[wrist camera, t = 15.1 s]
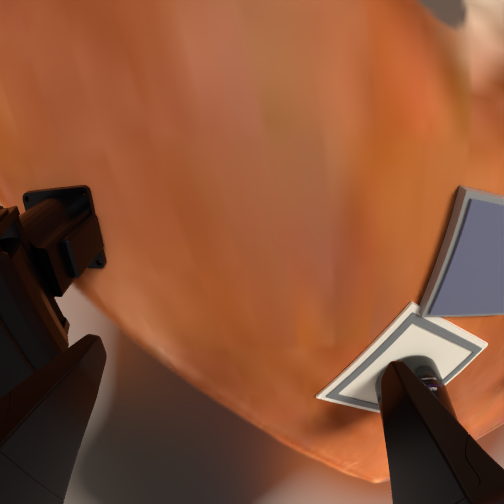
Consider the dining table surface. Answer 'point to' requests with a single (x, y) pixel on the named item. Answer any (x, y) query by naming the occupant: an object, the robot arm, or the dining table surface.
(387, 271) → the dining table surface
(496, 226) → the pad
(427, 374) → the supplement bottle
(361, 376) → the marked card
